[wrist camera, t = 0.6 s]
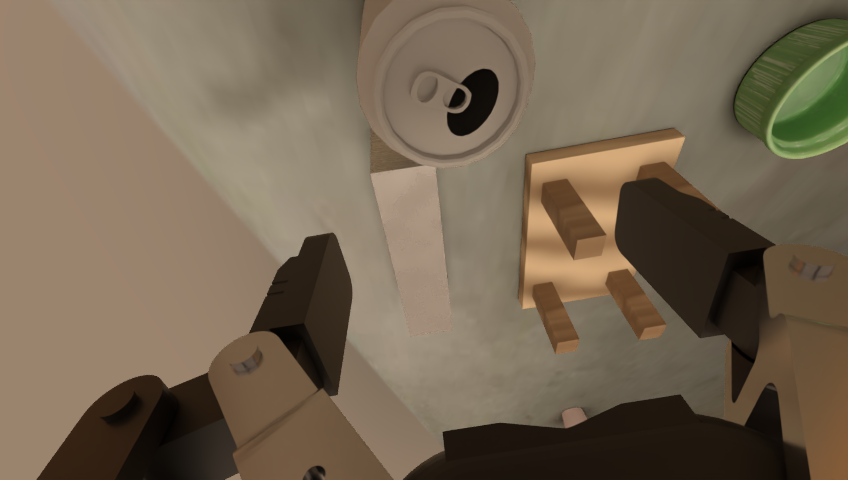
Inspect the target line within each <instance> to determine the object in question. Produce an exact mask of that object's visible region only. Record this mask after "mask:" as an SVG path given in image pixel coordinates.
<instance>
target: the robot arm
mask: <svg viewBox="0 0 848 480" xmlns="http://www.w3.org/2000/svg"><path fill="white" fill-rule="evenodd" d="M615 242H616V245H617V248H618V250H619V251H620V253H621V254H622V255H623V256H624V257H625V258H626V259H627V260H628V261H629V263H630V264H631V265H632V266H633V267H634V268H635V269H636V270H637V271H638V272H639V273H640V274H641V275H642V277H643V278H644V279H645V280H646V281H647V282H648V283H649V284H650V285H651V286H652V287H653V288H654V289H655V290H656V292H657V293H658V294H659V295H660V296H661V297H662V298H663V299H664V300H665V301H666V302H667V303H668V304H669V305H670V307H671V308H672V309H673V310H674V311H675V312H676V313H677V314H678V315H679V316H680V317H681V318H682V319H683V320H684V322H685V323H686V324H687V325H688V326H689V327H690V328H691V329H692V330H693V331H694V332H695V333H696V334H697V336H698V337H699V338H705V337H711V336H717V335H723V334H725V335H726V336H727V337H728V338H729V341H728V344H727V346H726V350H725V412H724V420H723V419H720V418H716V417H710V416H705V415H699V414H695V413H694V412H693V411H692V409H691V408H690V407H689V405H688V404H687V403H686V401H685V400H684V399H683V397H682V396H681V395H674V396H668V397H661V398H655V399H649V400H642V401H636V402H629V403H623V404H620V405H617V406H615V407H613V408H611V409H609V410H607V411H604V412H602V413H600V414H598V415H596V416H594V417H591V418H589V419H587V420H585V421H583V422H581V423H578V424H576V425H574V426H572V427H569V428H552V427H541V426H530V425H519V424H509V423H495V424H489V425H482V426H476V427H470V428H463V429H457V430H450V431H444V432H443V440H444V449H445V450H444V451H442V452H440V453H438V454H436V455H434V456H432V457H431V458H429V459H428V460H426V461H424V462H423V463H421V464H420V465H419V466H417V467H416V468H415V469H414V470H413V471H411V472H410V473H409V474H408V475H407V476H406V477H405V478H404V479H403V480H848V257H847V256H844V255H842V254H840V253H837V252H835V251H832V250H828V249H825V248H821V247H817V246H812V245H805V244H780V245H775V244H774V243H772V242H770V241H769V240H767V239H765V238H764V237H762V236H761V235H759V234H757V233H756V232H754V231H752V230H751V229H749V228H748V227H746V226H744V225H743V224H741V223H739V222H738V221H736V220H734V219H733V218H732V219H730V218H729V216H728V215H726V214H725V213H723V212H721V211H720V210H716V208H715V207H713V206H712V205H710V204H708V203H707V202H705V201H703V200H702V199H700V198H698V197H694V196H691V195H688V194H685V193H682V192H679V191H678V190H676V189H674V188H673V187H671V186H670V185H668V184H667V183H665V182H663V181H662V180H660V179H659V178H656V177H652V178H647V179H641V180H635V181H629V182H625V183H624V184H623V185H622V187H621V189H620V194H619V202H618V209H617V217H616V224H615ZM351 303H352V284H351V279H350V275H349V272H348V269H347V266H346V263H345V260H344V258H343V255H342V252H341V249H340V246H339V243H338V240H337V238H336V236H335V234H334V233H327V234H321V235H316V236H310V237H306V238H305V240H304V242H303V245H302V247H301V250H300V252H299V255H298V256H296V257H290V258H289V259H288V260H287V261H286V262H285V263H284V264H283V265H282V266H281V267H280V268H279V269H278V271H277V273H276V275H275V277H274V280H273V282H272V285H271V286H270V288H269V291H268V293H267V297H265V299H264V302H263V304H262V306H261V308H260V310H259V313H258V315H257V317H256V319H255V321H254V323H253V326H252V328H251V330H250V332H249V334H247V335H245V336H242V337H240V338H238V339H236V340H234V341H233V342H231V343H230V344H229V345H227V346H226V347H225V348H223V349H222V350H221V351H220V352H219V354H218V355H217V356H216V357H215V358H214V360H213V361H212V363H211V365H210V367H209V371H208V373H206V374H204V375H201V376H199V377H196V378H194V379H191V380H189V381H186V382H184V383H181V384H179V385H177V386H174V387H172V388H169V389H168V387H167V386H166V385H165V384H164V383H163V382H162V380H161V379H160V378H159V377H157V376H154V375H144V376H139V377H135V378H132V379H130V380H127V381H125V382H123V383H121V384H119V385H117V386H116V387H114V388H112V389H111V390H109V391H108V392H106V393H105V394H104V395H103V396H101V397H100V398H99V399H98V400H97V401H95V402H94V403H93V404H92V406H90V407H89V408H88V410H87V411H86V412H85V413H84V415H83V416H82V417H81V419H80V420H79V421H78V423H77V424H76V426H75V427H74V428H73V430H72V431H71V433H70V434H69V435H68V437H67V438H66V439H65V441H64V442H63V444H62V445H61V446H60V448H59V449H58V451H57V452H56V453H55V455H54V456H53V457H52V459H51V460H50V462H49V463H48V464H47V466H46V467H45V469H44V470H43V471H42V473H41V474H40V476H39V477H38V478H37V480H225V479H227V478H229V477H231V476H233V475H235V474H237V473H239V474H240V476H241V479H242V480H393V478H392V477H391V476H390V474H389V473H388V472H387V470H386V469H385V468H384V467H383V465H382V464H381V463H380V462H379V460H378V459H377V458H376V456H375V455H374V454H373V452H372V451H371V450H370V448H369V447H368V446H367V445H366V443H365V442H364V441H363V439H362V438H361V437H360V436H359V434H358V433H357V432H356V430H355V429H354V428H353V426H352V425H351V424H350V423H349V421H348V420H347V419H346V417H345V416H344V415H343V414H342V412H341V411H340V410H339V408H338V407H337V406H336V404H335V403H334V402H333V401H332V399H331V398H330V397H329V396H334V395H337V394H338V387H339V381H340V375H341V368H342V362H343V355H344V348H345V342H346V335H347V329H348V322H349V316H350V309H351Z"/></svg>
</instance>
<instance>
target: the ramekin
mask: <svg viewBox="0 0 848 480" xmlns="http://www.w3.org/2000/svg"><path fill="white" fill-rule="evenodd" d="M734 109H735V110H734V111H735V115H736V118H737V120H738V122H739V123H740V124H741V125H742V126H743V127H744V128H745V129H747V130H748V131H749V132H751V133H752V134H754V135H755V136H756V137H758V138H759V139H760V140H761V141H763V142H764V144H765V146H766V147H767V148H768V149H769V150H770V151H771V152H773V153H774V154H776V155H778V156H780V157H784V158H789V159H801V158H807V157H812V156H816V155H819V154H822V153H825V152H827V151H830V150H832V149H834V148H837V147H838V146H841V145H843V144H844V143H846V142H848V20H841V19H826V20H821V21H816V22H813V23H810V24H808V25H805V26H803V27H801V28H799V29H797V30H795V31H793V32H791V33H790V34H788V35H787V36H785V37H784V38H782V39H781V40H779V41H778V42H776V43H775V44H774V45H773V46H772V47H770V48H769V49H768V50H767V51H766V52H765V53H764V54H763V55H762V56H761V57H760V58H759V59H758V60H757V61H756V62H755V63H754V65H753V66H752V67H751V69H750V70H749V71H748V73H747V74H746V76H745V77H744V79H743V81H742V83H741V85H740V87H739V89H738V92H737V95H736V98H735V104H734Z"/></svg>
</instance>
